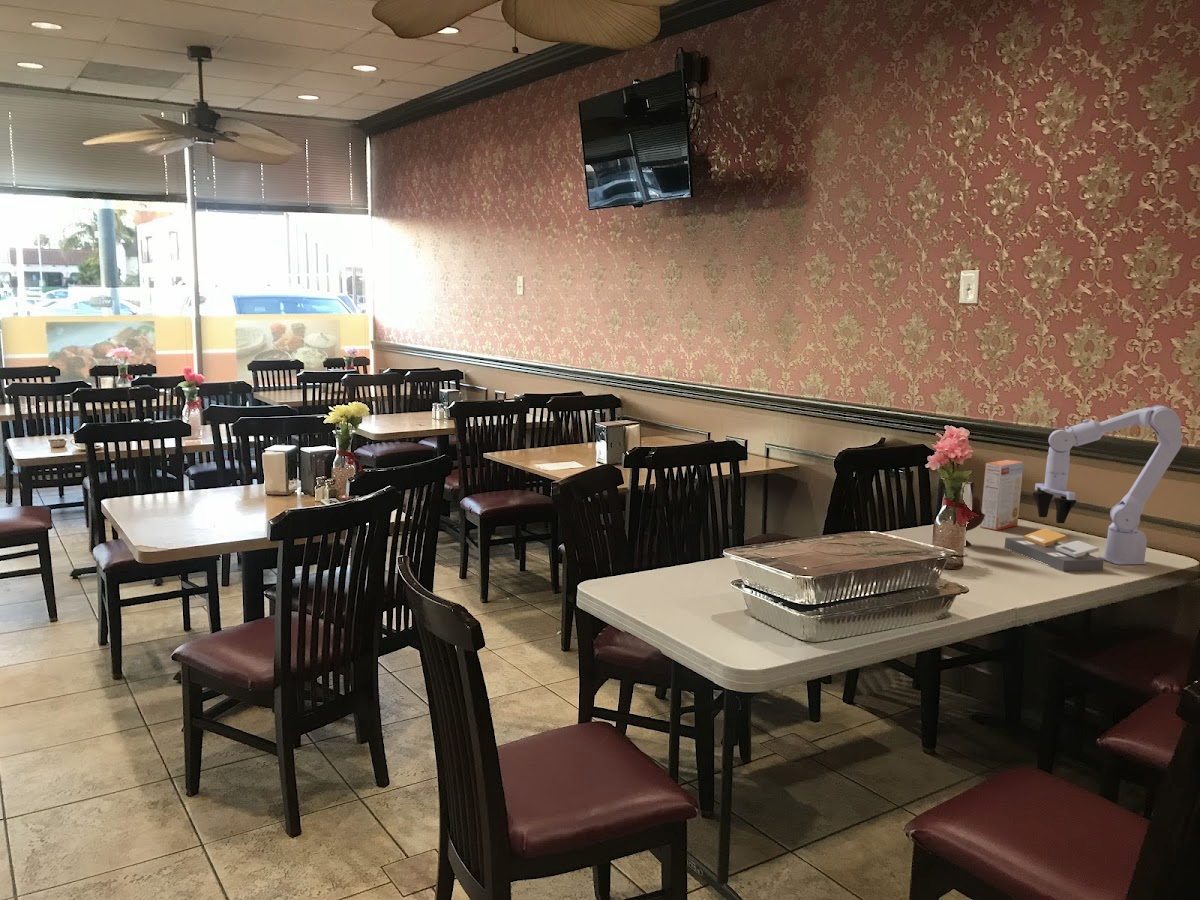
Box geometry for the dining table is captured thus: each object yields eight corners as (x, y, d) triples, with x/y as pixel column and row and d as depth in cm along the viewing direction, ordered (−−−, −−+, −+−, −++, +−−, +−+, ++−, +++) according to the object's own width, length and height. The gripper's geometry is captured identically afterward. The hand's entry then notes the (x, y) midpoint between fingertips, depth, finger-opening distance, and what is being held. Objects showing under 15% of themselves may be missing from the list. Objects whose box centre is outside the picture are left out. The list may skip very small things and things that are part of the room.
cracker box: (1000, 522, 309) (1006, 458, 306) (1018, 526, 305) (1025, 461, 302) (978, 527, 300) (984, 461, 297) (996, 531, 296) (1003, 464, 293)
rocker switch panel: (1053, 547, 277) (1054, 536, 277) (1115, 570, 253) (1117, 559, 252) (1004, 547, 274) (1005, 536, 273) (1062, 571, 250) (1064, 559, 249)
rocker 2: (1078, 545, 260) (1077, 540, 260) (1099, 553, 253) (1098, 547, 252) (1055, 552, 259) (1055, 546, 259) (1075, 559, 252) (1075, 553, 251)
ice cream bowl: (974, 540, 281) (979, 491, 279) (985, 550, 270) (991, 498, 268) (937, 538, 282) (942, 488, 280) (947, 547, 271) (952, 495, 269)
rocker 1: (1046, 533, 273) (1045, 527, 273) (1067, 540, 265) (1066, 535, 264) (1024, 540, 272) (1023, 535, 272) (1045, 548, 264) (1044, 543, 263)
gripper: (1027, 468, 273) (1022, 514, 275) (1061, 477, 259) (1056, 525, 261) (1049, 468, 275) (1044, 514, 277) (1084, 477, 261) (1078, 525, 263)
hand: (1051, 520), depth 269 cm, fingers open, 7 cm apart
